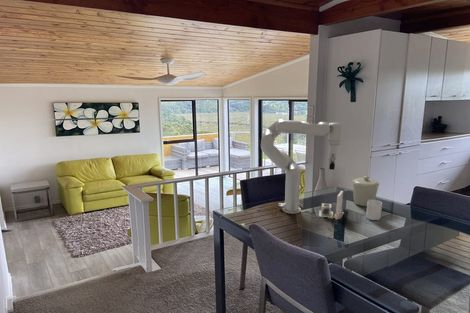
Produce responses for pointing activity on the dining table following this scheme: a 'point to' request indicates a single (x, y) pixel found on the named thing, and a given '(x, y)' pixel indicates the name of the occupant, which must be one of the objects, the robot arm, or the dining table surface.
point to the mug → (373, 209)
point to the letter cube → (326, 209)
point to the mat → (324, 215)
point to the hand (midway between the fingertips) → (331, 167)
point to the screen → (339, 206)
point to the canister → (364, 190)
